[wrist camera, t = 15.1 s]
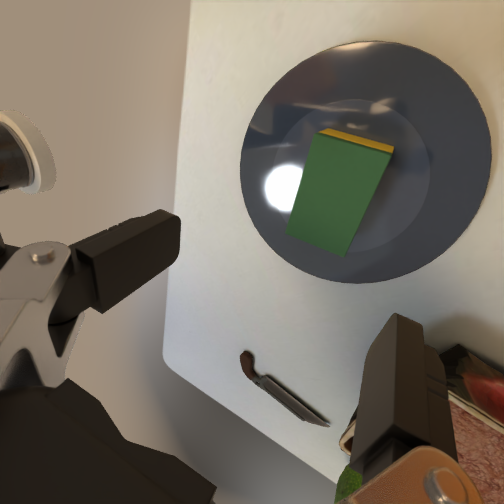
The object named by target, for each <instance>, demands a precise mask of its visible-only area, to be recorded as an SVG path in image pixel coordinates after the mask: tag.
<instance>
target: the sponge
mask: <svg viewBox="0 0 504 504" xmlns="http://www.w3.org/2000/svg"><path fill="white" fill-rule="evenodd" d="M393 150H394V147H393V146H390V145H387V144H383V143H380V142H376V141H373V140H369V139H365V138H362V137H358V136H355V135H351V134H347V133H344V132H340V131H337V130H333V129H329V128H327V129H325V130H322V131H320V132H317V133H315V134H314V136H313V139H312V143H311V146H310V150H309V153H308V156H307V160H306V163H305V166H304V170H303V173H302V177H301V180H300V183H299V187H298V190H297V194H296V197H295V200H294V204H293V207H292V211H291V214H290V217H289V221H288V224H287V228H286V231H285V234H287V235H290V236H292V237H295V238H297V239H299V240H302V241H304V242H307V243H309V244H312V245H314V246H317V247H319V248H321V249H324V250H326V251H329V252H331V253H334V254H336V255H339V256H341V257H345V256H346V253H347V251H348V249H349V247H350V245H351V243H352V241H353V238H354V236H355V234H356V232H357V230H358V228H359V226H360V223H361V221H362V219H363V217H364V215H365V213H366V210H367V208H368V206H369V204H370V202H371V200H372V198H373V195H374V193H375V191H376V189H377V187H378V185H379V182H380V180H381V178H382V176H383V174H384V172H385V170H386V167H387V165H388V163H389V161H390V159H391V157H392V153H393Z"/></svg>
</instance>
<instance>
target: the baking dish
mask: <svg viewBox="0 0 504 504" xmlns="http://www.w3.org/2000/svg"><path fill="white" fill-rule="evenodd" d="M439 358H440V360H441V361H442V363H443V365H444V367H445V374H446V381H447V384H446V386H447V388H448V394H449V399H448V401H449V402H450V408H451V415H452V422H453V429H454V436H455V442H456V449H457V456H458V462H459V465H460V466H461V467H462V468H463V469H464V470H465V471H466V472H467V474H468V475H469V476H470V477H471V479H472V480H473V482H474V483H475V485H476V486H477V488H478V490H479V492H480V494H481V496H482V498H483V501H484V503H485V504H504V374H502V373H500V372H498V371H497V370H495V369H493V368H492V367H490V366H488V365H486V364H485V363H483V362H482V361H481V360H479V359H478V358H477V357H475V356H474V355H473V354H471V353H470V352H469V351H467V350H466V349H465V348H463V347H462V346H460V345H457V346H455V347H453V348H452V349H450V350H448V351H446V352H445V353H443V354H441V355H439ZM357 411H358V406H357V408H356V410H355V412H354V414H353V416H352V418H351V420H350V423H349V425H348V427H347V429H346V431H345V432H344V433H343V434H342V436H341V439H340V441H339V446H340V447H341V450H343V451H344V452H345V453H347V454H348V455H349V456H351V450H352V444H353V437H354V430H355V424H356V417H357Z"/></svg>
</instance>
